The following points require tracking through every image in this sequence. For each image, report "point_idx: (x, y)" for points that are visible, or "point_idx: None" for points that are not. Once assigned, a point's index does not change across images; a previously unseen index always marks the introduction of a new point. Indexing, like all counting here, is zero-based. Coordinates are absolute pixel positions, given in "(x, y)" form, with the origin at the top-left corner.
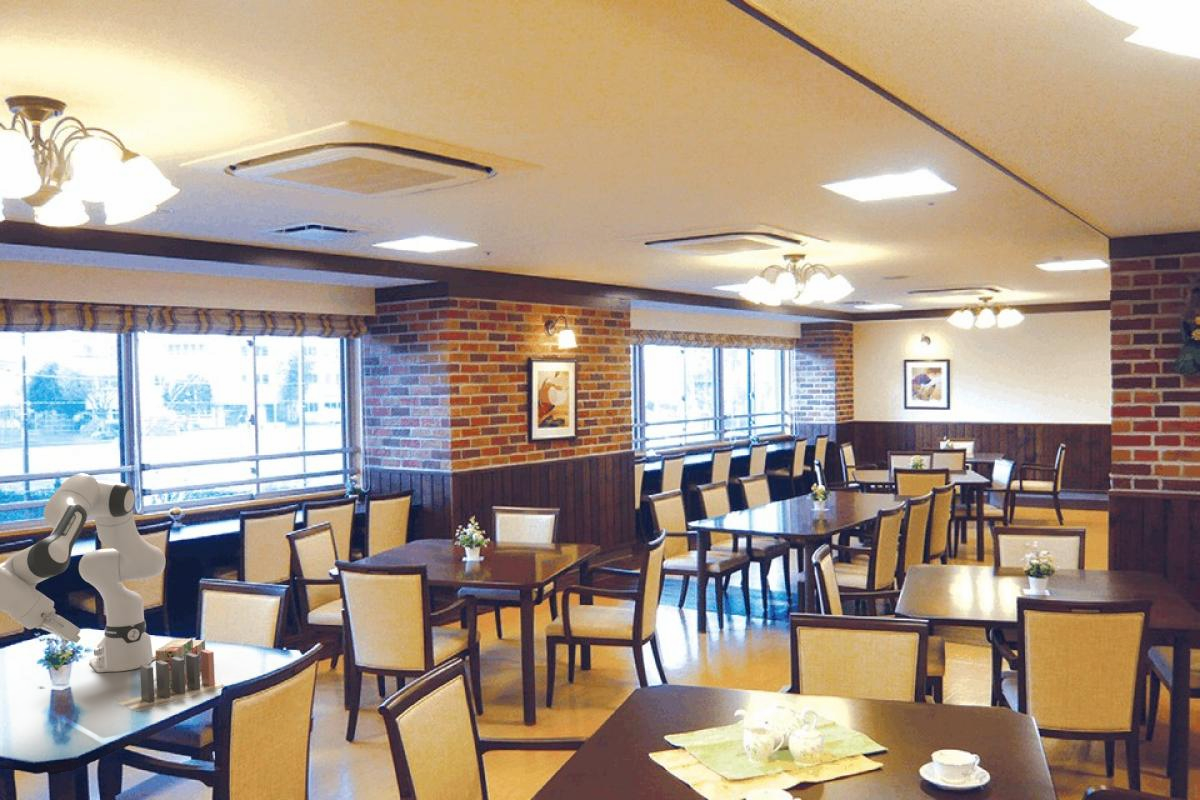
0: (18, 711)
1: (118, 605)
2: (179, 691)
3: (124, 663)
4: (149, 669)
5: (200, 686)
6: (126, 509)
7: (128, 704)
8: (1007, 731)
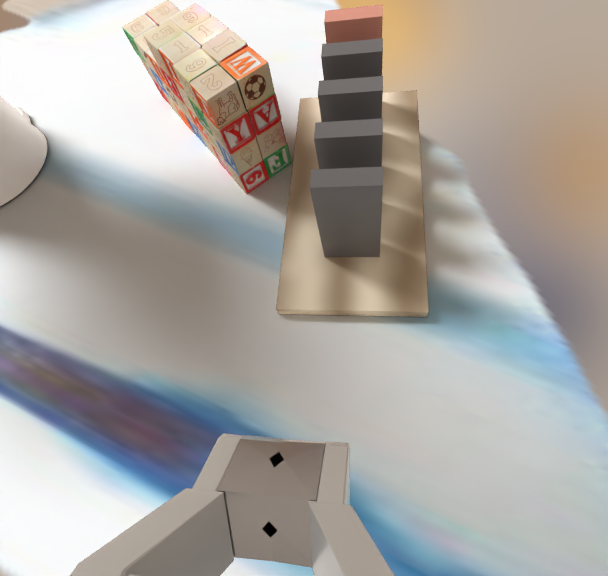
0: (17, 538)
1: None
2: None
3: (9, 172)
4: (382, 182)
5: None
6: None
7: (334, 298)
8: None
